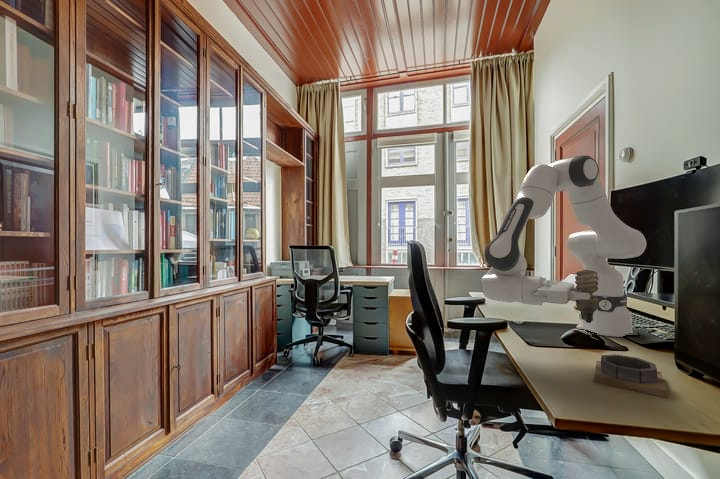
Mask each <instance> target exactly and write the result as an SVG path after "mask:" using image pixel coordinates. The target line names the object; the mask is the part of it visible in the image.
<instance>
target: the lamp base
mask: <svg viewBox="0 0 720 479" xmlns="http://www.w3.org/2000/svg"><path fill="white" fill-rule="evenodd" d="M600 356H601V357H600V360H599V361H598V360H596V363H595V371H594V384H599V385H602V386H603V385H605V386H608V387H613V388H618V389H623V390H627V391H628V390H629V391H634V392H639V393H642V394H648V395H652V396H657V397H661V398H667V399H668V394H669V393H668V389H667V386H666V383H665V381H664V380H665V379H664V377H663V374H662V371H659V370H658V369H657V365H656V363H653V362H651V361H648V360H645V359H642V358H639V357H636V356H635V357H634V356H628V355H624V354H623V355H622V354H614V353H613V354H603V355H602V354H601V355H600Z"/></svg>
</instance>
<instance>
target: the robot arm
mask: <svg viewBox="0 0 720 479" xmlns="http://www.w3.org/2000/svg"><path fill="white" fill-rule="evenodd" d="M599 170H600V169H599V164H598V163H597V161H596V160H595V159H594V158H593V157H592V156H590V155H576V156H574V157H569V158H563V159H562V158H561V159H559V160H557V161H554V162H551V163H548V164H543V163H542V164H536V165H534V166H533V167H531V168H530V169H529V171H528V172H527V174H526V175H525V177H524V178H523V180H522V182H521V184H520V186H519V189H518V191H517V194H516V196H515V199H514V202H513V203H512V204H511V206H510V208H509V210H508V211H507V214H506V216H505V218H504V219H503V222H502V224H501V226H500V228H499V230H498V231H497V233H496V234H495V236H493V238H492V239H491V240H490V241H489V242H488V243H487V245H486V247H485V250H484V259H485V261H486V263H487V264H488V265H489V266H490V268H489V269H488V271H487V272H486V274H484V275H483V276H482V277H481V278H480V279H481V280H480V290H481V291H482V294H483V296H484V297H486V298H487V299H488V300H491V301H495V302H501V303H520V304H522V305H532V306H538V307H539V306H541V307H542V306H543V304H544V303H549V304H556V305H557V304H558V305H568V303H569V302H570V300H571V301H572V300H573V301H576V300H579V299H585V300H589V299H590V293H588V292H582V291H580V290H578V289H576V285H575V283H572V282H568V281H567V282H566V281H559V280H550V279H547V278H546V277H542V276H536V275H526V273H527V267H528V262H527V260H526V258H525V256H524V255H523V254H524V253H522V252H521V250H520V245H519V242H520V238H521V235H522V234H523V231H524V229H525V227H526V225H527V223H528V220H535V219H540V218H542V217H544V216H545V215H546V214H547V213H548V211H549V209H550V207H551V205H552V202H553V200H554V198H555V194H556V193H557V192H565V191H566V192H567V196H568V200H569V203H570V206H571V208H572V211H573V214H574V217H575V219H576V221H577V222H578V223H579V224H581V225H583V226H586V227H588V228H590V229H589V230H582V231H577V232H573V233H571V234H570V235H569V236H568V238H567V240H566V248H567V250H568V252H569V253H570V254H571V255H572V256H574V257H575V258H576V259H577V260H578V261H579V263H580V264H581V266H582V268H583V270H591V271H595V272H597V277H598V281H597V282H598V285H597V287H598V290H597V291H596V292H594V293H593V297H596V298H598V308H597V310H596V311H595V312H594V313H593V321H591V323H587V322H586V321H585V320H583V319H582V318H581V323H578V324H576V329H579V330H581V329H588V330H591V331H593V332H595V333H597V334H596V335H599V336H606V337H618V338H620V337H623V335H624V334H628V333H633V331H632V328H633V318H632V311H630V310H629V309H628V308H627V307H626V305H627V299H626V296H625V290H624V285H625V284H624V276H623V273H621V272H620V271H619V270H618V269H615V268H613V267H612V266H611V265H610V264H609V263H608V260H607V259H617V260H618V259H621V260H623V259H632V258H637V257H640V256H641V255H642V254H643V253H644V252H645V250H646V249H647V240H646V238H645V236H644V234H643V233H642V232H641V231H640V230H638V229H635V228H632V227H631V226H629V225H627V224H626V223H625V222H623V221H622V220H621V219H620V218H619V217H618V216H617V215H616V214H615V212H614V210H613V209H612V206H611V203H610V202H609V199H608V196H607V193H606V190H605V187H604V185H603V183H602V181H601V179H600V178H599ZM623 338H624V337H623Z"/></svg>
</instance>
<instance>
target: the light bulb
mask: <svg viewBox="0 0 720 479" xmlns="http://www.w3.org/2000/svg"><path fill="white" fill-rule="evenodd" d="M575 274H576V275H575V276H574V279H575V281H574V284H575V288H576V289H578V290H580V291H582V292H588V293H590V299H589V300H585V299H579V300H575V305H576V306H575V307H576V308H577V310H579V311H580V318H581V320H582V319H583V320H585V321H586V322H587V323H591V321H593V313H594V312H595V311H596V310H597V308H598V298H596V297H593V293H594V292H596V291H597V290H598V287H597V285H598V282H597V281H598V277H597V272H595V271H591V270H584V269H583V270H580V271H576V273H575Z"/></svg>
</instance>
